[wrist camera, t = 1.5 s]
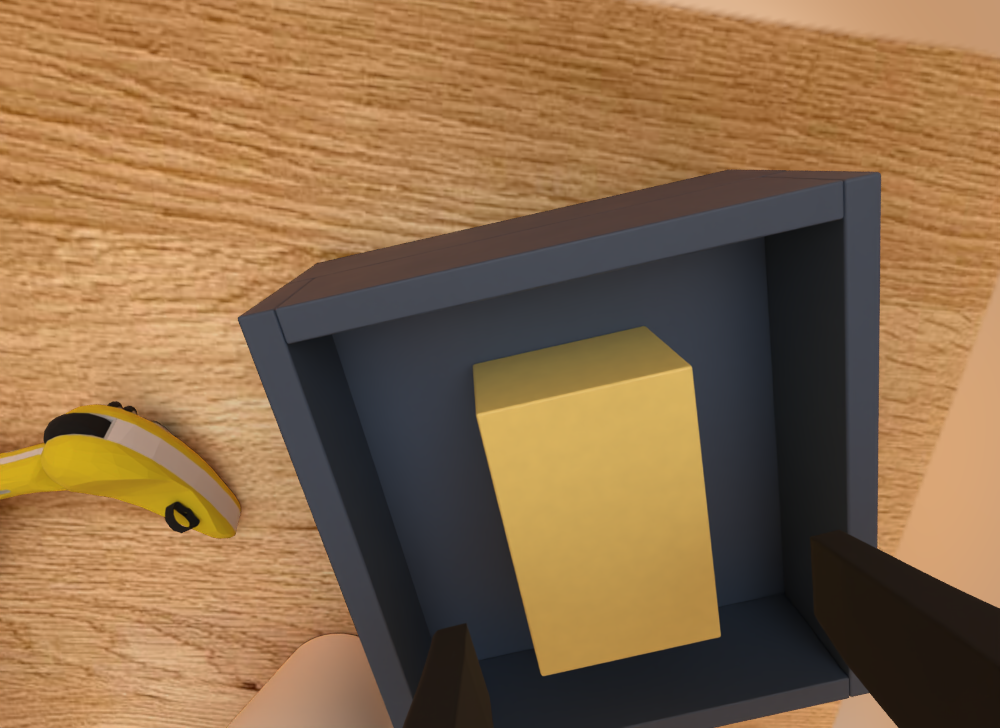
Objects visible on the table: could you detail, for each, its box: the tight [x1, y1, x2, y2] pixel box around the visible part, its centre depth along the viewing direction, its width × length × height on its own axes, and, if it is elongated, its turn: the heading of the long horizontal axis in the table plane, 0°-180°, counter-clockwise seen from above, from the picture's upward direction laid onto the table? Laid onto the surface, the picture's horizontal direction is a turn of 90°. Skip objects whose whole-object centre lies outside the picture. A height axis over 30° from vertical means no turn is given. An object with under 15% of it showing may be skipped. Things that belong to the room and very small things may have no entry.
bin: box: [238, 170, 881, 728], centre depth 18 cm, size 14×15×7 cm
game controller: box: [0, 401, 241, 539], centre depth 19 cm, size 10×6×4 cm, turn 101°
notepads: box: [473, 326, 721, 676], centre depth 16 cm, size 5×8×4 cm, turn 12°
